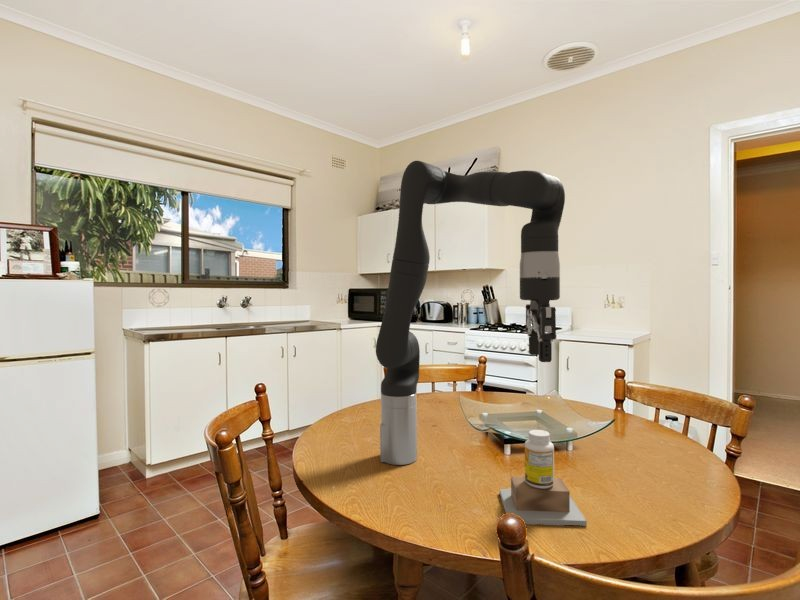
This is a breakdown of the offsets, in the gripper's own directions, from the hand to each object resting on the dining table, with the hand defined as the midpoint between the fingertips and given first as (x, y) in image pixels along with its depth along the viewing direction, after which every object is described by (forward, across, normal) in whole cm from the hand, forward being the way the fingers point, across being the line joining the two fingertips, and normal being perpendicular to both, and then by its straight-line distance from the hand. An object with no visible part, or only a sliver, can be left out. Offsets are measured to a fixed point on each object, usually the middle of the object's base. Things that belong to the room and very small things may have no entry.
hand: (539, 358), depth 86 cm
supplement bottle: (+25, 0, 0) cm, 25 cm away
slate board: (+30, 0, 0) cm, 30 cm away
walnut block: (+29, 0, 0) cm, 29 cm away
